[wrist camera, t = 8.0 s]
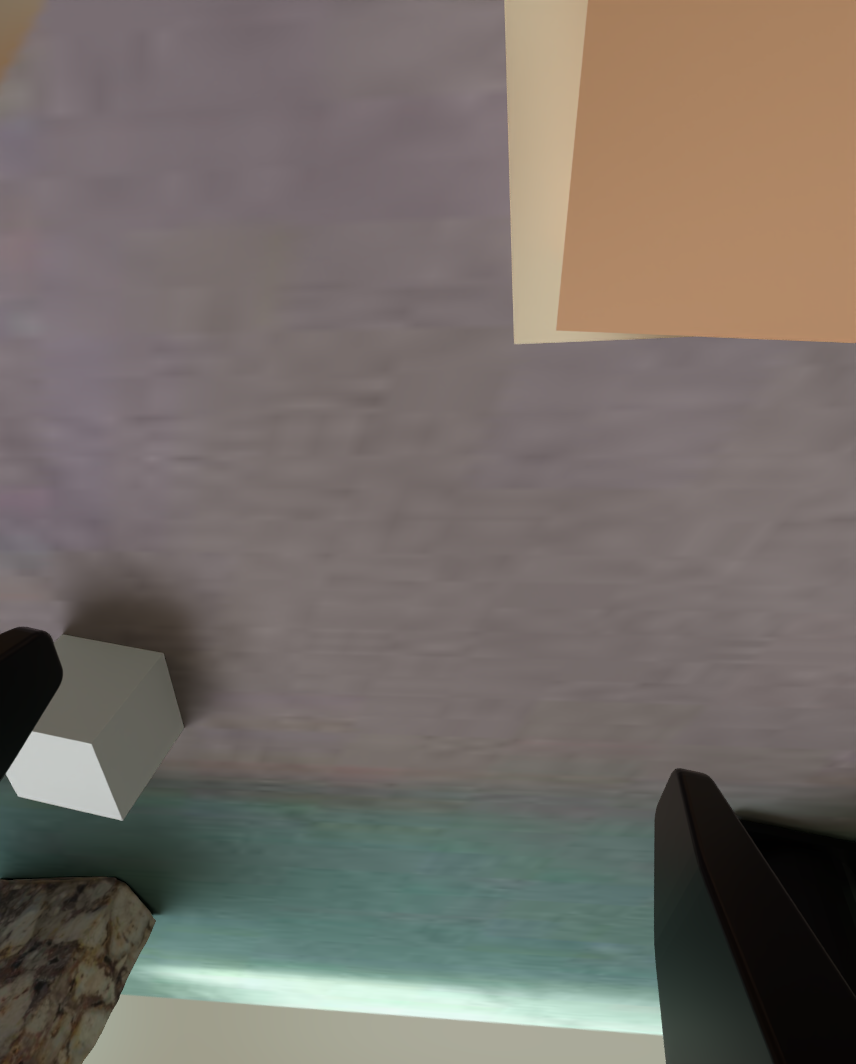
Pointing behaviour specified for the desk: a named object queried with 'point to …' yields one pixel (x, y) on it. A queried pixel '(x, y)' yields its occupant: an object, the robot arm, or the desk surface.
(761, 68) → the tan cube
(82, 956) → the stone block
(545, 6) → the birch block
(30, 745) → the light grey cube
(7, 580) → the desk surface
